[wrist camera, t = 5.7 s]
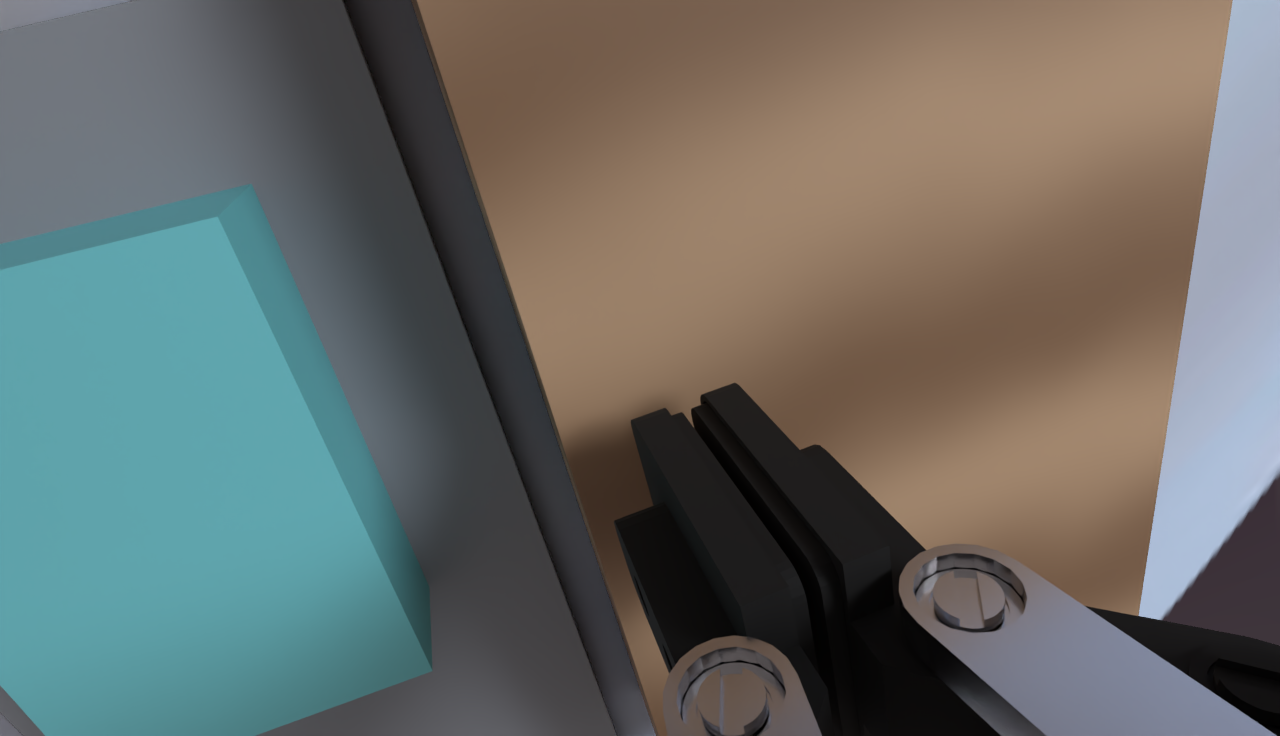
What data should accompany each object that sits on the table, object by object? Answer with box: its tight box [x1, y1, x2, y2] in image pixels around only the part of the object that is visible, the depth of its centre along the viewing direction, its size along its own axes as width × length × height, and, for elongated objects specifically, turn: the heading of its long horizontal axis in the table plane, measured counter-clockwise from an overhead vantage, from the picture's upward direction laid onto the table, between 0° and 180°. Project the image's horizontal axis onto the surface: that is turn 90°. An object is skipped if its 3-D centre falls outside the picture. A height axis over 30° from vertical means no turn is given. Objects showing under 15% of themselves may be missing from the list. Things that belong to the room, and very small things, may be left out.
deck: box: [411, 0, 1233, 736], centre depth 14 cm, size 20×12×4 cm, turn 13°
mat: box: [0, 0, 617, 736], centre depth 15 cm, size 20×11×1 cm, turn 13°
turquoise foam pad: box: [0, 184, 433, 736], centre depth 12 cm, size 9×6×2 cm, turn 11°
